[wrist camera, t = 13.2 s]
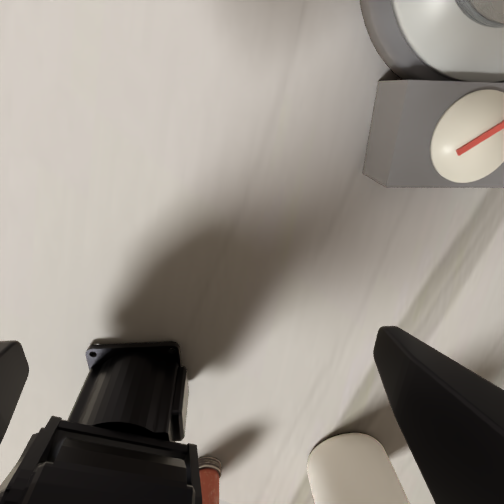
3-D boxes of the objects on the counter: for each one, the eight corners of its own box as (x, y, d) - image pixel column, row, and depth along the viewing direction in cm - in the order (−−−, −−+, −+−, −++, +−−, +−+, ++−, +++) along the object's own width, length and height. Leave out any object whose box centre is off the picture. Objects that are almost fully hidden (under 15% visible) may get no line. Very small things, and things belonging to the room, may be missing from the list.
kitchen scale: (330, 173, 20) (351, 189, 17) (385, -255, 13) (439, -365, 10) (514, 174, 21) (566, 189, 18) (659, -219, 14) (786, -307, 11)
